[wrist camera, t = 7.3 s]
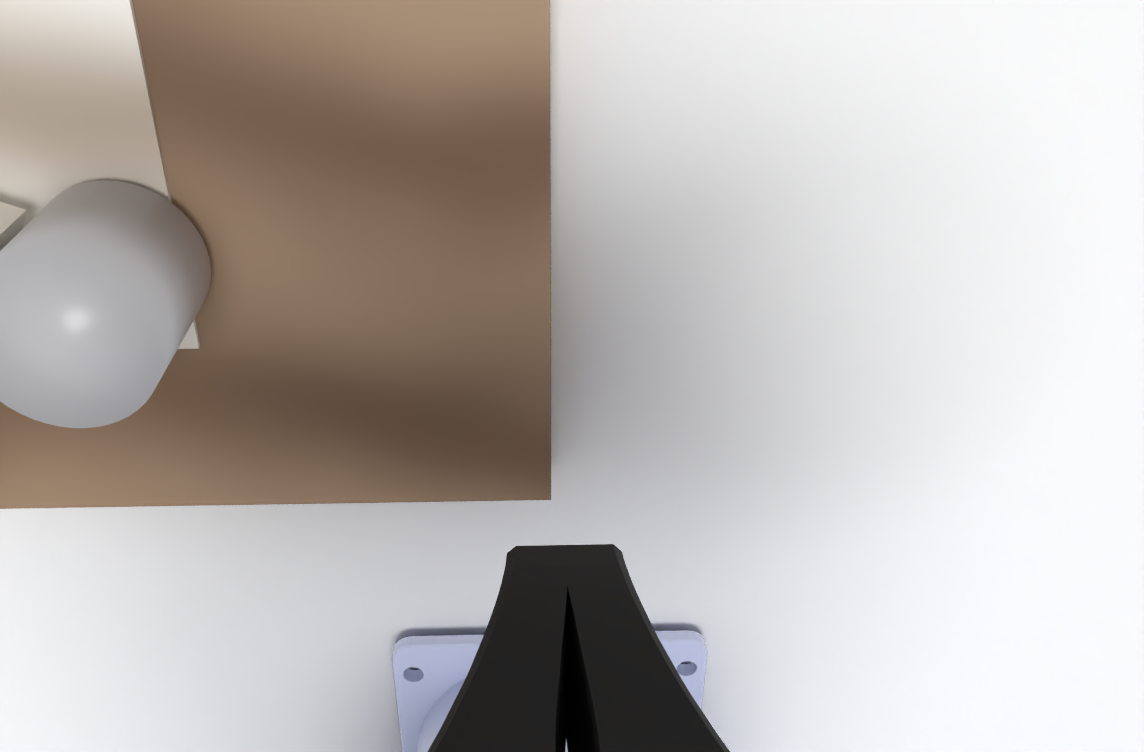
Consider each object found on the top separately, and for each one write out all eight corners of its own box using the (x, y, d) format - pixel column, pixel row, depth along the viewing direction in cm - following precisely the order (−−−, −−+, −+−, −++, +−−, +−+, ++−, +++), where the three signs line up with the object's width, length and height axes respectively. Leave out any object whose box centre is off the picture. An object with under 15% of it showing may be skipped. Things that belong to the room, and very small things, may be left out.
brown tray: (549, 467, 25) (551, 505, 23) (-228, 479, 24) (-267, 518, 23) (547, -550, 15) (549, -574, 14) (-727, -576, 15) (-839, -603, 13)
